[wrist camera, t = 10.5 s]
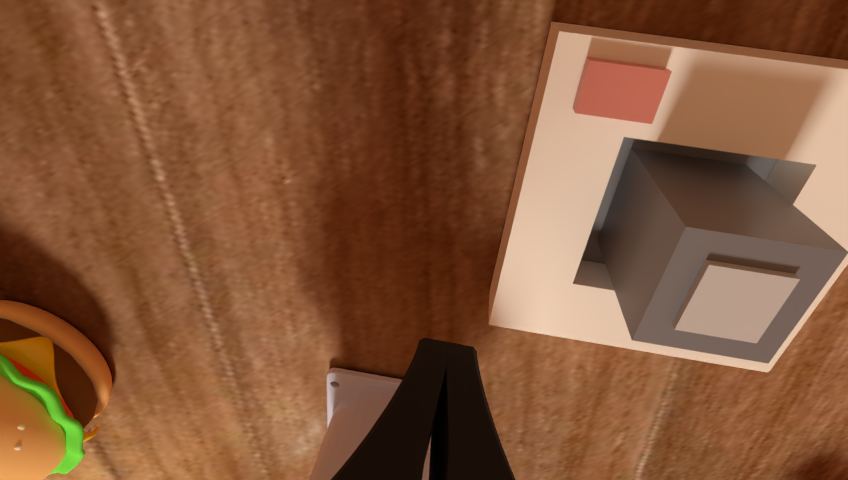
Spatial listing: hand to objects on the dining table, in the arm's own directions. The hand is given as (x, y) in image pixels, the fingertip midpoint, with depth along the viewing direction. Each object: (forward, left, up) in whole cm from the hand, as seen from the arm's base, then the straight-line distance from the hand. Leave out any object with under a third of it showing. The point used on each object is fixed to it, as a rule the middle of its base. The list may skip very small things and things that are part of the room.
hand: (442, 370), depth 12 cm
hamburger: (-16, +25, -10) cm, 31 cm away
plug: (+1, -8, -9) cm, 12 cm away
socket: (+1, -8, -10) cm, 13 cm away
